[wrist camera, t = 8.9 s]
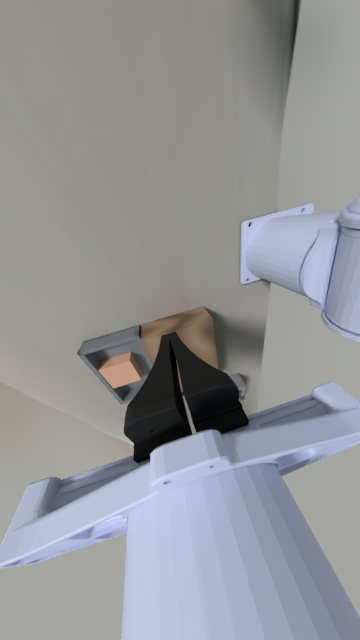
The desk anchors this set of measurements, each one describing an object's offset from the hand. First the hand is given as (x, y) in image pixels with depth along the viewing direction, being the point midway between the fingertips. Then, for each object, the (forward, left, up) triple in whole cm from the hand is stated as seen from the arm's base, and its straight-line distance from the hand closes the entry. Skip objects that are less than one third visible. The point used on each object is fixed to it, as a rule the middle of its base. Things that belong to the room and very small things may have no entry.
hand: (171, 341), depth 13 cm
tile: (+10, +10, -7) cm, 15 cm away
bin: (+9, +10, -9) cm, 16 cm away
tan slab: (-1, +10, -9) cm, 14 cm away
